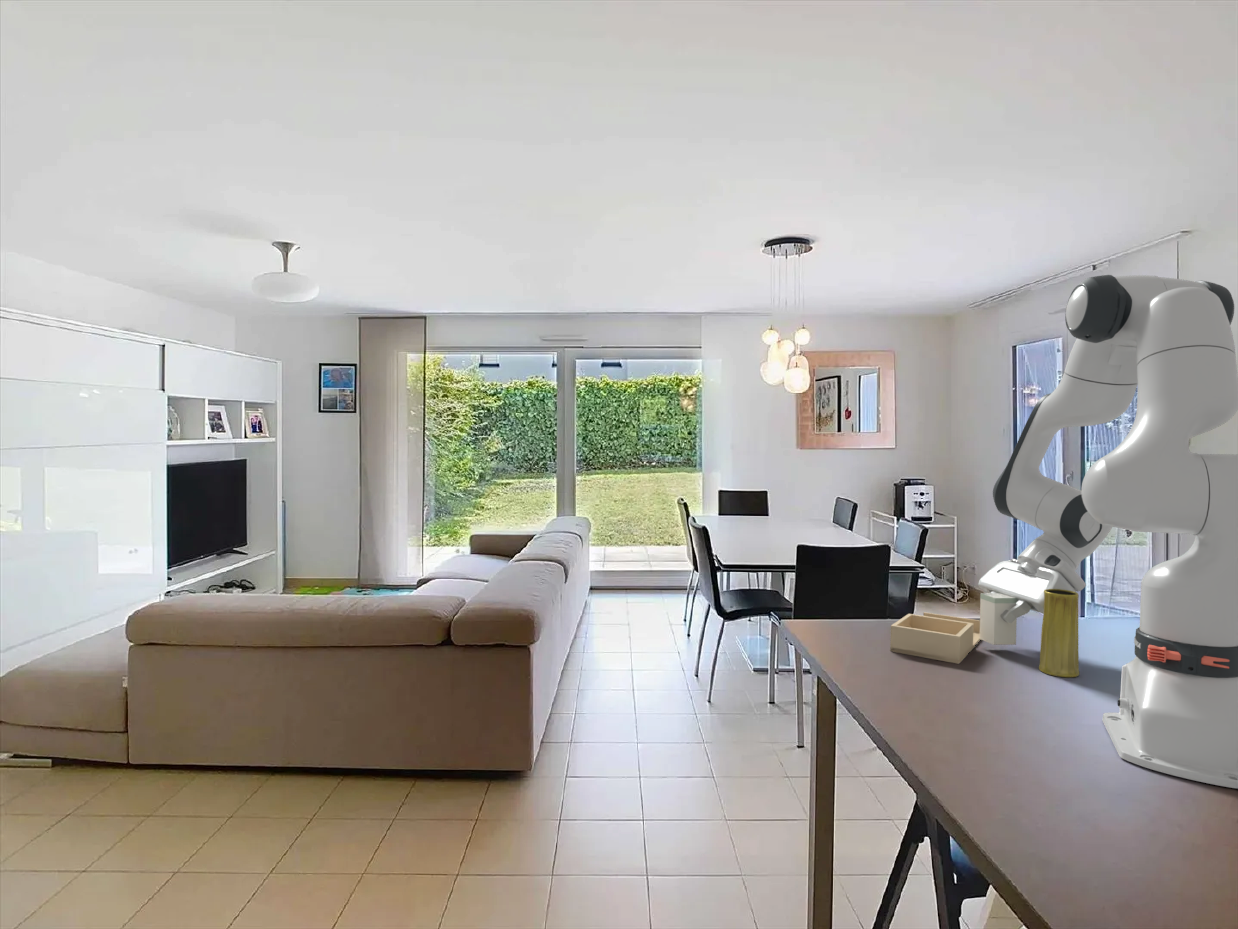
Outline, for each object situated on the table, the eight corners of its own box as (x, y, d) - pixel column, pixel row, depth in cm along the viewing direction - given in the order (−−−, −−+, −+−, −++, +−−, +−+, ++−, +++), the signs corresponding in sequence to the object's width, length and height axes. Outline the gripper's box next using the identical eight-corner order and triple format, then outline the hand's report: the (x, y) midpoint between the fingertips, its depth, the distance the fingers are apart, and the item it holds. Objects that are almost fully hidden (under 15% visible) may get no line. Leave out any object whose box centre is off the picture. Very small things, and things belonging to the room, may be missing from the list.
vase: (1067, 667, 127) (1070, 588, 127) (1086, 678, 121) (1089, 596, 121) (1032, 666, 128) (1034, 587, 127) (1049, 677, 122) (1051, 595, 121)
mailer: (959, 663, 129) (959, 636, 129) (890, 651, 136) (890, 625, 136) (985, 635, 148) (985, 611, 148) (923, 625, 156) (924, 603, 155)
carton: (1016, 644, 135) (1017, 598, 135) (993, 645, 135) (994, 598, 135) (1001, 638, 140) (1002, 593, 139) (979, 638, 139) (980, 593, 139)
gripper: (999, 547, 148) (953, 594, 147) (1071, 563, 127) (1018, 617, 127) (1018, 568, 148) (973, 615, 148) (1093, 587, 128) (1041, 642, 127)
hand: (995, 616), depth 137 cm, fingers closed on carton, 4 cm apart
